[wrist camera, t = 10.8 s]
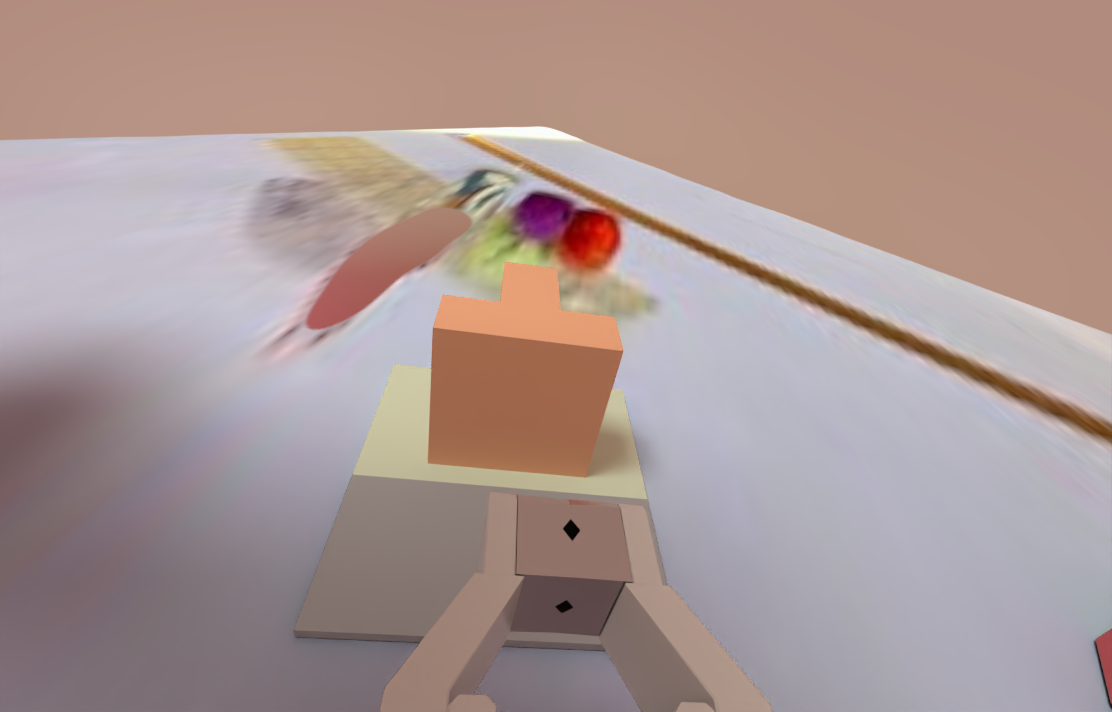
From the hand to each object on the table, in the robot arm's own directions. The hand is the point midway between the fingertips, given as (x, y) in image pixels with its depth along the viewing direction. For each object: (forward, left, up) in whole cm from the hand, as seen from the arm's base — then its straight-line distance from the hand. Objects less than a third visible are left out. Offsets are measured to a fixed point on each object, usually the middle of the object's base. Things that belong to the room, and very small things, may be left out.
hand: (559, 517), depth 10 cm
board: (0, +16, -17) cm, 23 cm away
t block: (0, +20, -16) cm, 26 cm away
